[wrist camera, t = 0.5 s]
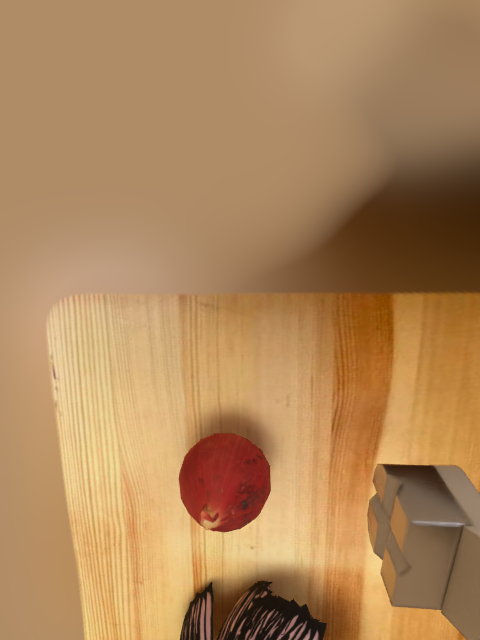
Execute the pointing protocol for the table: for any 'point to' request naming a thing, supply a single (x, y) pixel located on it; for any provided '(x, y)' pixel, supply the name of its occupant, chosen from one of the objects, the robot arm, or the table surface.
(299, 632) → the decorative flower
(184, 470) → the onion
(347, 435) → the table surface
